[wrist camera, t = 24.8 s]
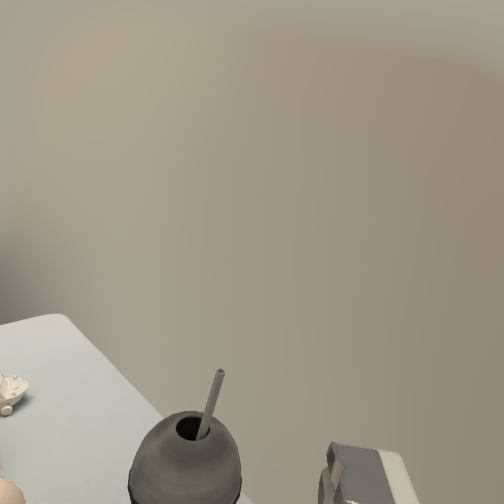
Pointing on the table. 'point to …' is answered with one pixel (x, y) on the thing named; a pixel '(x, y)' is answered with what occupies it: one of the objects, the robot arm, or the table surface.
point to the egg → (10, 493)
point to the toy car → (11, 392)
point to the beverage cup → (187, 460)
